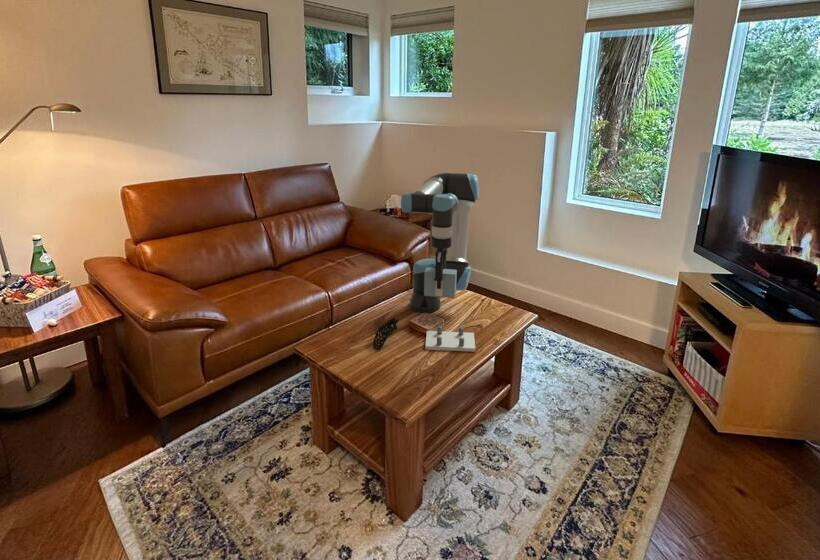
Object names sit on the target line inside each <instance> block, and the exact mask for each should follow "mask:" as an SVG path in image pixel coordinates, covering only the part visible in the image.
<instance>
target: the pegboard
mask: <svg viewBox="0 0 820 560" xmlns="http://www.w3.org/2000/svg"><path fill="white" fill-rule="evenodd" d="M464 329H465V328H464V327H462V326H459V327H458V331H443V326H441V325H438V326H437V330H426V337H425V346H424V349H425V350H430V351H432V350H433V351H448V352H449V351H452V352H455V351H456V352H472V353H475V352H476V343H475V333H474V332H469V331H468V332H465V330H464Z"/></svg>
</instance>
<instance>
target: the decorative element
mask: <svg viewBox="0 0 820 560" xmlns="http://www.w3.org/2000/svg"><path fill="white" fill-rule="evenodd" d="M398 323H399V318H398V319H397V318H394V317H392V318H390V319H389V321H387V322H385V323H384V324H382V325H381V326H379V327H378V329H377V330H376V333H375V336H374V339H373V342H372V349H374V350H375V351H380V350H381V349H382V348H383V347H384V345H385V343H386V341H387V339H388V336H389V335H390V334H391V333H393V332H395V331H397V330H398V325H397V324H398ZM381 338H382V339H381ZM378 341H379V342H378Z"/></svg>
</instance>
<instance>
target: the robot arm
mask: <svg viewBox="0 0 820 560" xmlns="http://www.w3.org/2000/svg"><path fill="white" fill-rule="evenodd" d="M479 197H480V187H479V178H478V176H477V175H476V174H471V173H457V172H456V173H454V172H442V173H441V172H440V173H437V174H434V175H432V176H429V177H428V178H426V179H425V181H424V182H423V184H422V185H421V186H420V187H419V188H417V189H416V190H415V191H414V192H412V193H411V192H404V193H402V195H401V198H400V208H401V211H402V212H404V213H409V214H410V213H414V214H415V213H416V214H428V215H429V214H431V217H432V219H431V220H432V222H431V246H432V247H433V248H435V249H436V251H435V258H423V259H419V260H417V261H416V262H415V263H414V264H413V269H412V270H413V271H412V273H413V274H412V276H413V277H412V281H413V282H412V285H413V286H412V287H413V288H412V289H413V290H412V294H411V297H410V299H409V308H410V309H411V310H412V311H414V312H418V313H426V314H428V313H434V312H437V311H439V310H440V308H441V303H442V302H441V299H440V298H441V297H434V296H424V272H425V270H426V268H435V279H434V281H436V291H435V296H442V295H443V279H442V278H443V269H452V270H457V278H456V292H457V291H460V292H461V291H465V290H466V289H467V288H468V285H469V282H470V279H471V273H472V267H471V266H470V265H469V264H470V263H469V262H470V261H468V260H467V249H468V241H469V230H470V223H471V222H470V221H471V211H472V207H473V206H474V205H475V204H476V201H478V200H479V199H480V198H479Z"/></svg>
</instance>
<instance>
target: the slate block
mask: <svg viewBox="0 0 820 560" xmlns="http://www.w3.org/2000/svg"><path fill="white" fill-rule="evenodd" d="M456 278H457V270H452V269H443V278H442V279H443V295H442V296H435V291H436V281H434V279H435V268H426V270H425V272H424V296H434V297H439V298H449V299H455V297H456V293H457V291H456Z"/></svg>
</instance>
